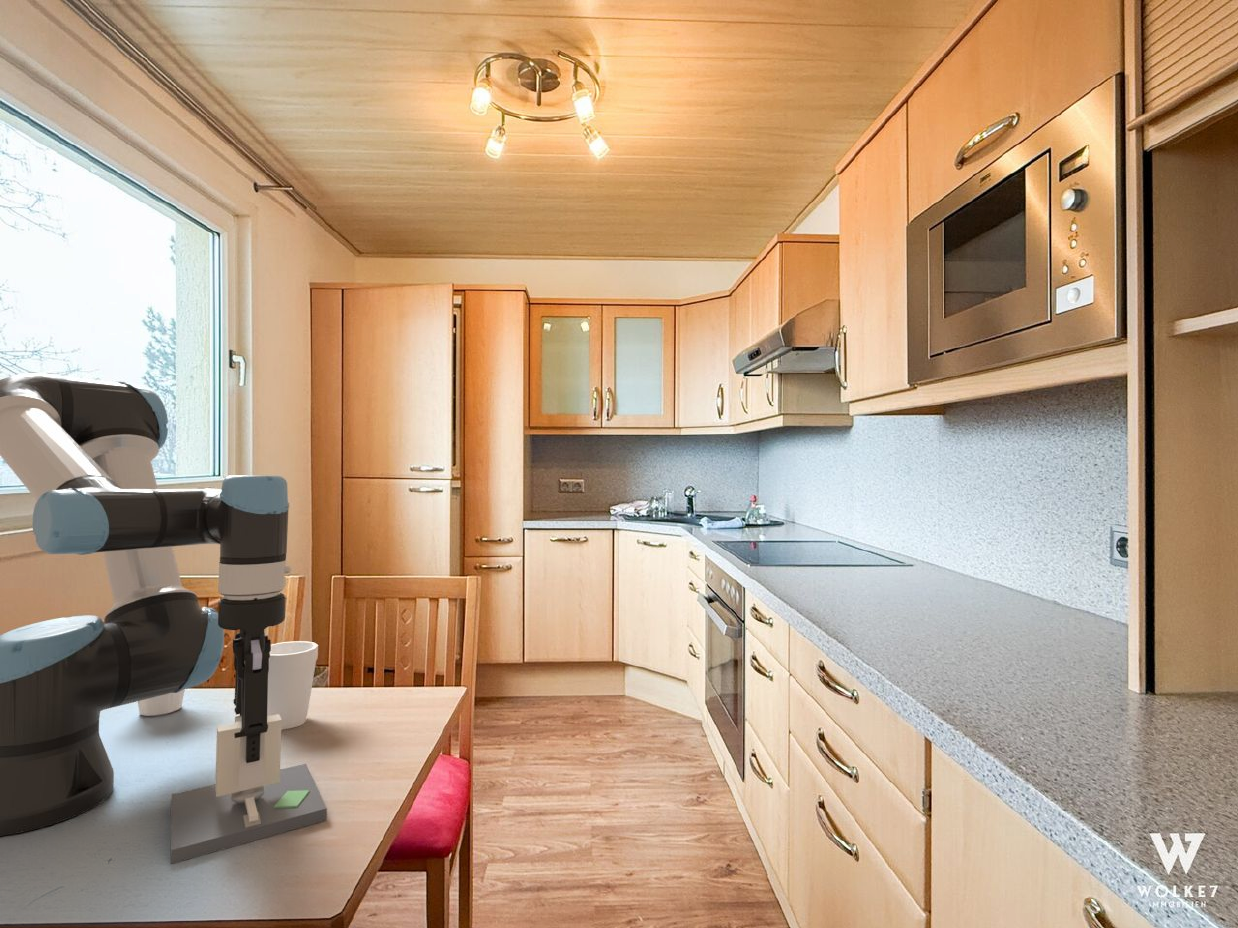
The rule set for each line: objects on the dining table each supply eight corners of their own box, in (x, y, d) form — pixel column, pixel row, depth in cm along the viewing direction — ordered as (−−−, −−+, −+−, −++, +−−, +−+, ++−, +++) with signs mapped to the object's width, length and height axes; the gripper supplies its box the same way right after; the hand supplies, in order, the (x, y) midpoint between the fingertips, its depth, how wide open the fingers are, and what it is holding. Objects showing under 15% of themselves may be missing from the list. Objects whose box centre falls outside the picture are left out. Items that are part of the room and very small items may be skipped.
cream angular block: (218, 835, 73) (221, 748, 73) (214, 802, 81) (216, 723, 81) (286, 817, 77) (288, 735, 77) (276, 787, 85) (278, 712, 85)
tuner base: (170, 863, 70) (171, 848, 70) (170, 805, 83) (171, 792, 83) (326, 820, 80) (326, 806, 80) (305, 773, 92) (306, 762, 92)
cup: (168, 722, 110) (170, 647, 110) (111, 721, 110) (113, 646, 110) (206, 702, 120) (208, 633, 120) (154, 701, 120) (156, 632, 120)
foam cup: (290, 735, 105) (292, 657, 105) (242, 730, 107) (244, 653, 107) (327, 714, 114) (329, 642, 115) (282, 710, 116) (284, 639, 117)
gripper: (297, 603, 76) (292, 797, 76) (275, 581, 92) (271, 741, 91) (223, 610, 72) (218, 816, 71) (214, 585, 87) (209, 754, 87)
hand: (248, 774), depth 81 cm, fingers open, 6 cm apart
